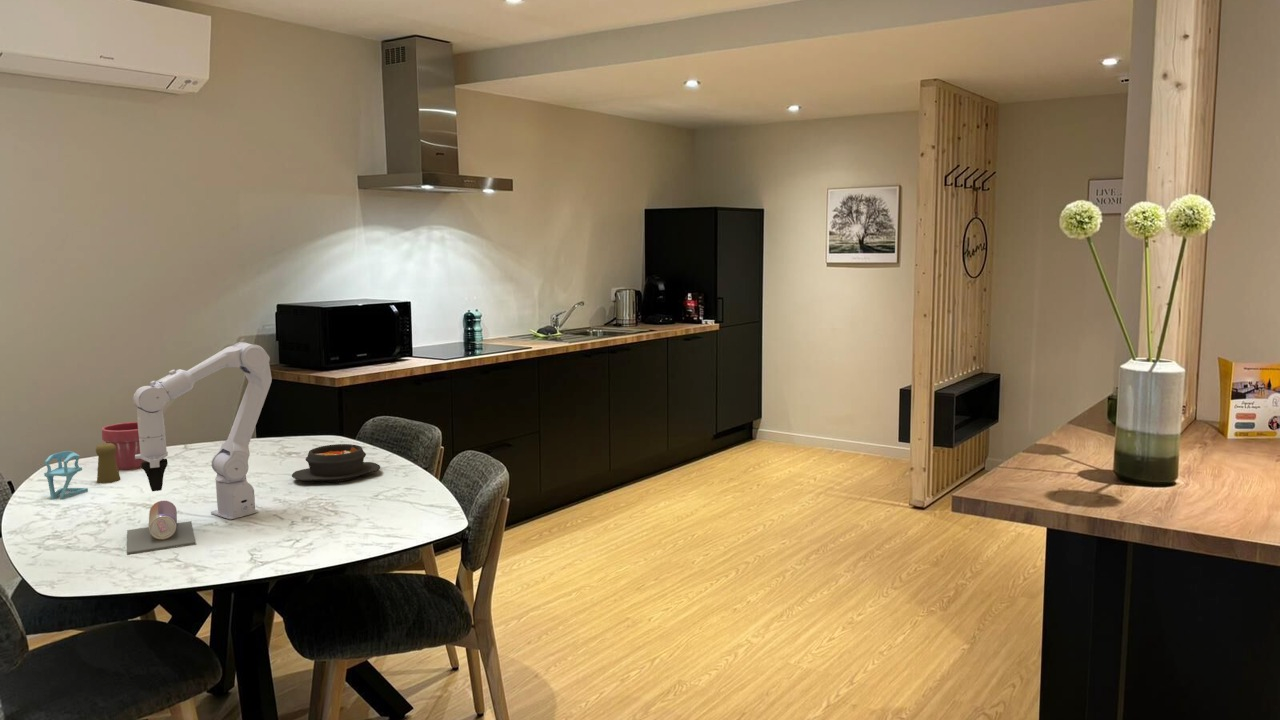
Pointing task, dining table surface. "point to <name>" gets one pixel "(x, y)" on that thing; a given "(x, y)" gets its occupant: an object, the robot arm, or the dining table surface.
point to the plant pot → (124, 444)
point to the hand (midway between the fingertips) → (156, 490)
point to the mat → (146, 542)
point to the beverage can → (162, 520)
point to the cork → (107, 463)
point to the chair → (63, 474)
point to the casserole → (335, 463)
